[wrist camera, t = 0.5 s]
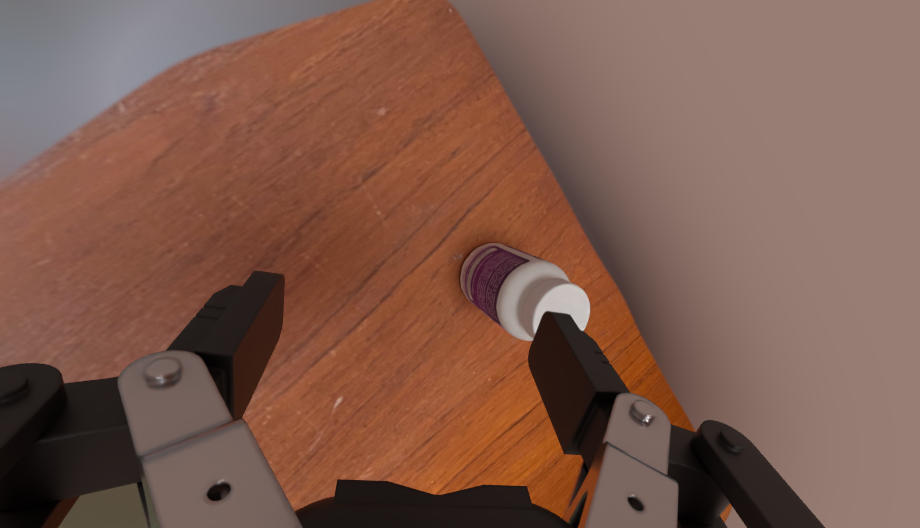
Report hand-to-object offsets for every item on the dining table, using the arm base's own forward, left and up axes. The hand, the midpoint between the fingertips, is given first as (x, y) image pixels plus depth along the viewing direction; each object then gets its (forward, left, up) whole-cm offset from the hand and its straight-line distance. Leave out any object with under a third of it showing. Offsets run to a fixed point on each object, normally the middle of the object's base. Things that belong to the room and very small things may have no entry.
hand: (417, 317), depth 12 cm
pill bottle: (+1, +11, -16) cm, 20 cm away
